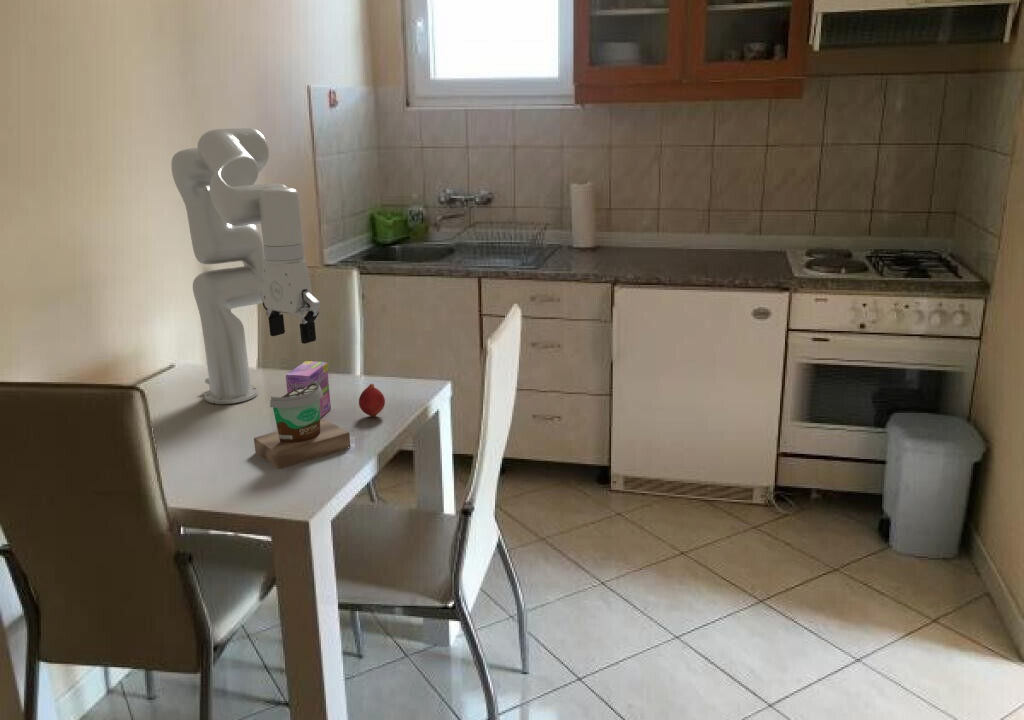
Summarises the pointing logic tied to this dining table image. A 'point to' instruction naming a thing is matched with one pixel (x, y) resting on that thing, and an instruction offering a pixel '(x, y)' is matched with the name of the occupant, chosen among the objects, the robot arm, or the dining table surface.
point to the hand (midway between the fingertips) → (293, 338)
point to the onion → (371, 401)
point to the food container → (298, 413)
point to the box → (314, 373)
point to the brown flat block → (302, 446)
